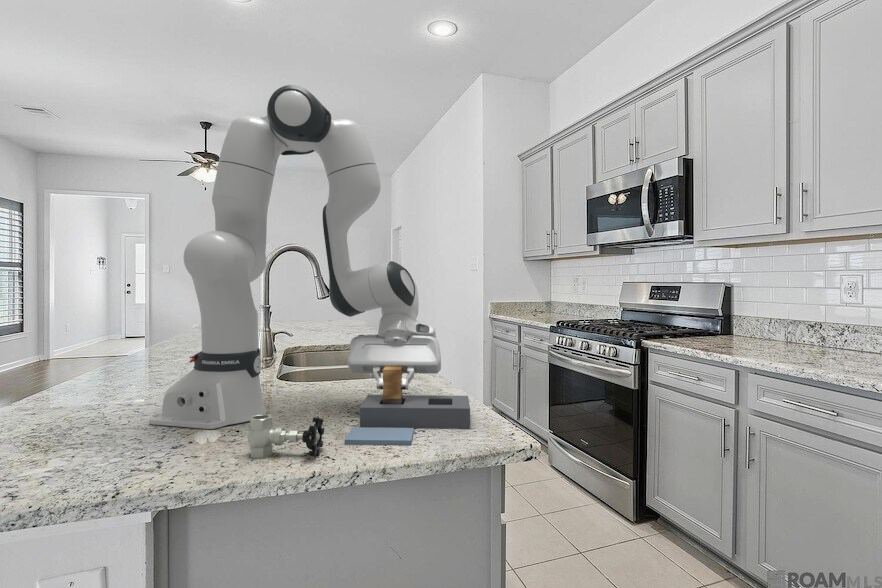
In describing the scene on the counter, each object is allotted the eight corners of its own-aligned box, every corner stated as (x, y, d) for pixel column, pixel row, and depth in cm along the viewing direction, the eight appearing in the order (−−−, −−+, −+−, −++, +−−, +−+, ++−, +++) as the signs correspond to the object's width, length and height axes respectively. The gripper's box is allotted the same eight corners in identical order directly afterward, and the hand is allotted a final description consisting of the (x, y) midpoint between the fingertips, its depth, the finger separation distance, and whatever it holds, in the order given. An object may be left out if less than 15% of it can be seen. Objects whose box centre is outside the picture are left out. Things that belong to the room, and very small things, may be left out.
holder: (359, 427, 95) (359, 407, 95) (368, 412, 105) (368, 394, 105) (470, 428, 95) (470, 408, 95) (467, 413, 105) (468, 395, 105)
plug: (382, 422, 98) (382, 369, 98) (384, 417, 102) (384, 366, 101) (400, 422, 98) (400, 369, 98) (402, 417, 102) (402, 366, 101)
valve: (240, 462, 77) (313, 463, 77) (239, 422, 77) (313, 423, 77) (257, 447, 84) (324, 448, 84) (256, 410, 84) (324, 411, 83)
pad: (344, 444, 86) (344, 439, 86) (352, 431, 93) (352, 427, 93) (411, 444, 85) (411, 440, 85) (413, 432, 92) (413, 427, 92)
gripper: (349, 326, 106) (340, 379, 97) (441, 327, 106) (440, 380, 97) (353, 343, 111) (344, 395, 102) (441, 344, 111) (440, 396, 101)
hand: (392, 388), depth 99 cm, fingers closed on plug, 4 cm apart
